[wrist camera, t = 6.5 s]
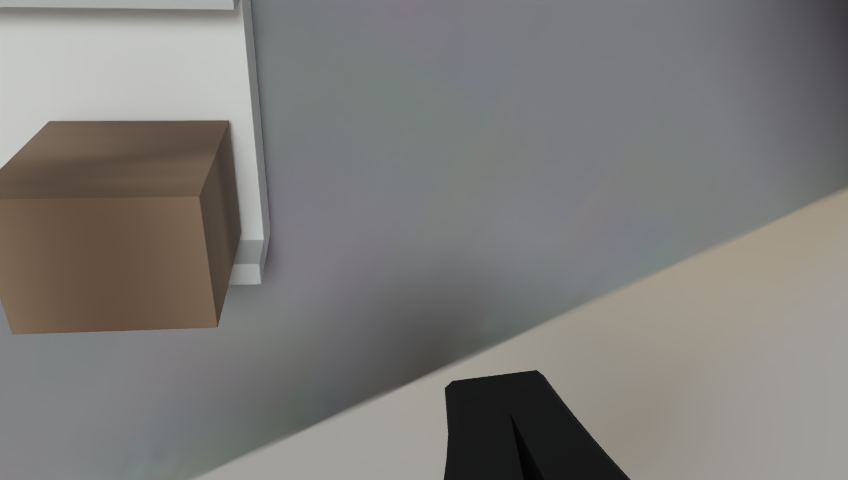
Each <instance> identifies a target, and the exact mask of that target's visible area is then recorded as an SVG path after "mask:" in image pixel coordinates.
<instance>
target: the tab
mask: <svg viewBox="0 0 848 480" xmlns="http://www.w3.org/2000/svg"><path fill="white" fill-rule="evenodd" d="M240 236H241V224H240V215H239V206H238V197H237V188H236V179H235V170H234V160H233V151H232V142H231V133H230V124H229V120H185V121H49V122H48V123H47V124H46V125H45V126H44V127H43V128H42V129H41V130H40V131H39V132H38V133H36V134H35V135H34V136H33V137H32V138H31V139H30V140H29V141H28V142H27V143H26V144H25V145H24V146H23V147H22V148H21V149H20V150H19V151H18V152H17V153H16V154H15V155H14V156H13V157H12V158H11V159H10V160H9V161H8V162H7V163H6V164H5V165H4V166H3V167H2V168H1V169H0V298H1V301H2V304H3V307H4V311H5V314H6V317H7V320H8V323H9V326H10V329H11V332H12V334H39V333H68V332H98V331H127V330H157V329H186V328H216V327H218V323H219V319H220V316H221V312H222V308H223V304H224V300H225V296H226V292H227V288H228V284H229V280H230V276H231V272H232V268H233V264H234V260H235V256H236V252H237V248H238V244H239V240H240Z"/></svg>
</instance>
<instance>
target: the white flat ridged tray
mask: <svg viewBox="0 0 848 480" xmlns="http://www.w3.org/2000/svg"><path fill="white" fill-rule="evenodd" d="M185 120H229V124H230V133H231V142H232V151H233V160H234V170H235V179H236V188H237V197H238V206H239V215H240V224H241V236H240V240H239V244H238V248H237V252H236V256H235V260H234V264H233V268H232V272H231V276H230V280H229V284H228V285H246V284H261V282H262V277H263V271H264V266H265V260H266V255H267V249H268V243H269V238H270V232H271V231H270V219H269V208H268V196H267V185H266V173H265V162H264V150H263V139H262V127H261V116H260V104H259V93H258V81H257V70H256V58H255V46H254V35H253V23H252V12H251V0H0V169H1V168H2V167H3V166H4V165H5V164H6V163H7V162H8V161H9V160H10V159H11V158H12V157H13V156H14V155H15V154H16V153H17V152H18V151H19V150H20V149H21V148H22V147H23V146H24V145H25V144H26V143H27V142H28V141H29V140H30V139H31V138H32V137H33V136H34V135H35V134H36V133H38V132H39V131H40V130H41V129H42V128H43V127H44V126H45V125H46V124H47V123H48V122H49V121H185Z"/></svg>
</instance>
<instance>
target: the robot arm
mask: <svg viewBox="0 0 848 480" xmlns="http://www.w3.org/2000/svg"><path fill="white" fill-rule="evenodd" d="M445 396H446V410H447V423H448V447H447V460H446V467H445V475H444V480H630V479H629V478H628V477H627V475H625V473H624V472H623V471H622V470H621V469H620V468H619V467H618V466H617V465H616V464H615V463H614V461H613V460H612V459H611V458H610V457H609V456H608V455H607V454H606V452H604V450H603V449H602V448H601V447H600V446H599V444H598V443H597V442H596V441H595V440H594V439H593V438H592V436H591V435H590V434H589V433H588V432H587V430H586V429H585V428H584V427H583V426H582V424H581V423H580V422H579V421H578V420H577V418H576V417H575V416H574V415H573V413H572V412H571V411H570V410H569V408H568V407H567V406H566V405H565V404H564V402H563V401H562V400H561V398H560V397H559V396H558V394H557V393H556V392H555V390H554V389H553V388H552V386H551V385H550V384H549V382H548V381H547V380H546V378H545V377H544V376H543V375H542V374H541V373H540V372H538V371H537V370H535V371H527V372H519V373H512V374H504V375H495V376H488V377H480V378H472V379H464V380H458V381H452V382H451V383H450V384H449V385H448V386H447V387H446V388H445Z"/></svg>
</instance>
